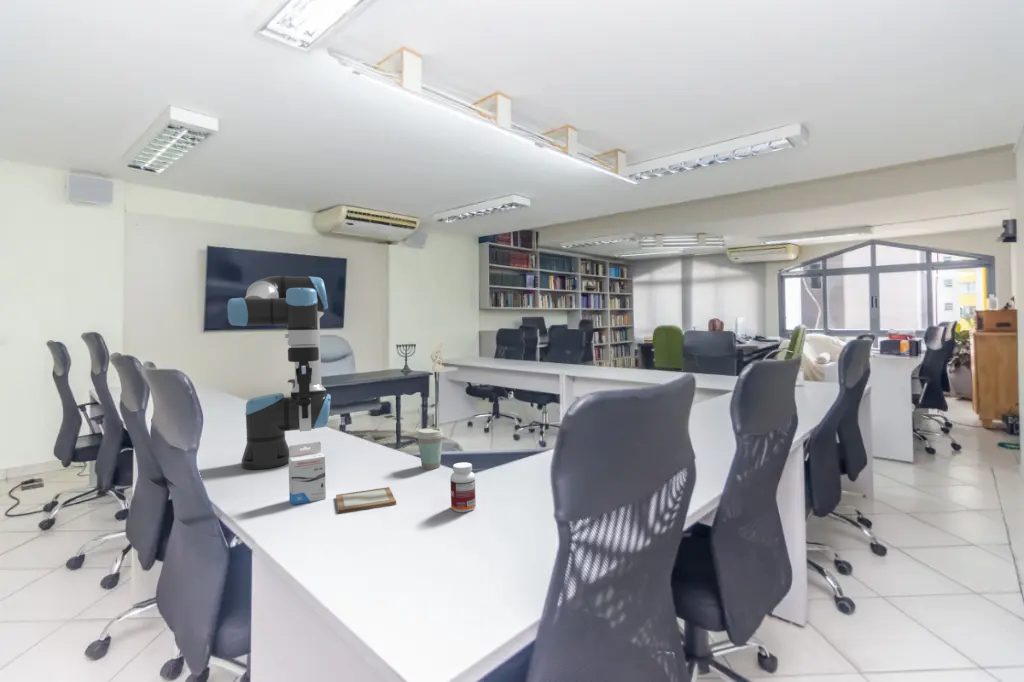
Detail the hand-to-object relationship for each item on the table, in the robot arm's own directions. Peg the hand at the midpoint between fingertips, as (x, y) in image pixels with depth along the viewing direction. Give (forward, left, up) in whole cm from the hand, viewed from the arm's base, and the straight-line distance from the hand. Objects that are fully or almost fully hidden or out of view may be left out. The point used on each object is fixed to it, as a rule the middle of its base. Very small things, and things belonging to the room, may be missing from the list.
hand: (305, 426), depth 127 cm
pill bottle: (+24, +36, -20) cm, 48 cm away
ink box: (0, 0, -20) cm, 20 cm away
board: (+8, +14, -20) cm, 25 cm away
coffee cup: (-15, +37, -20) cm, 45 cm away
